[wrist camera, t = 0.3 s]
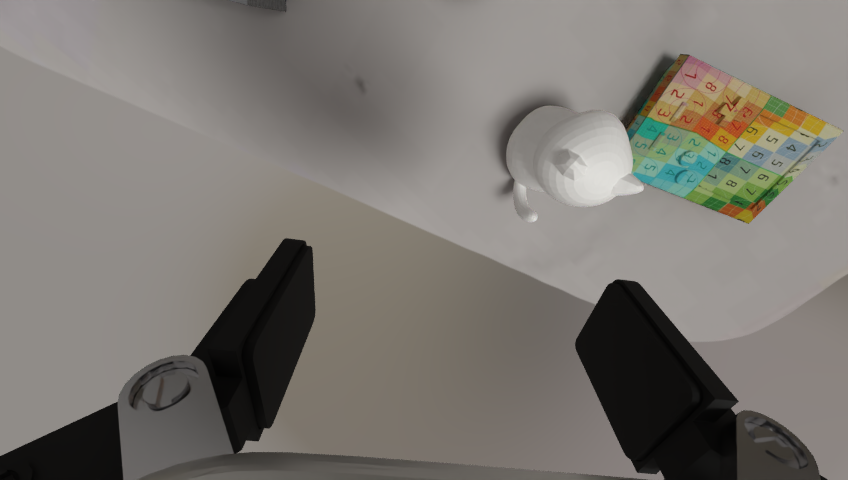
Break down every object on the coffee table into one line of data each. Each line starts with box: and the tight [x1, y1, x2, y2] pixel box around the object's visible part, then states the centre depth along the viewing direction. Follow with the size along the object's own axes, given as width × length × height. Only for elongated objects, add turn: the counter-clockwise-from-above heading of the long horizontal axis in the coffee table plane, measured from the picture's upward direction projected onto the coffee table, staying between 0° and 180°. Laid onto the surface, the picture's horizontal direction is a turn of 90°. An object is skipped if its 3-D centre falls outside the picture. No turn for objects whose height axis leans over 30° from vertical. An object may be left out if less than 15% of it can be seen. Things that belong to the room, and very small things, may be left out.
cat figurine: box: [506, 105, 644, 222], centre depth 32 cm, size 9×12×15 cm
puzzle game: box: [626, 54, 843, 224], centre depth 36 cm, size 12×5×20 cm
